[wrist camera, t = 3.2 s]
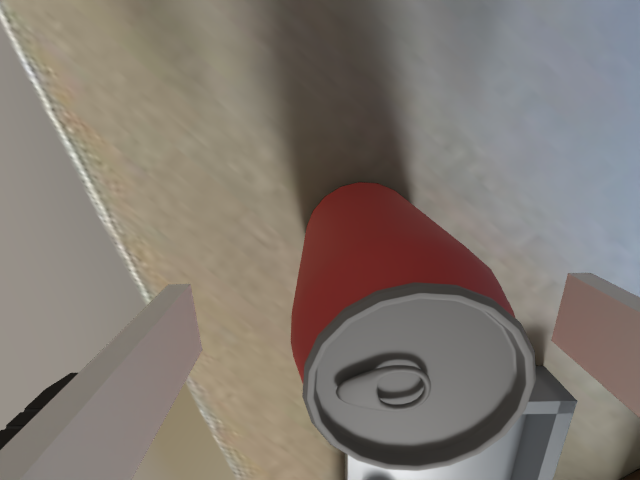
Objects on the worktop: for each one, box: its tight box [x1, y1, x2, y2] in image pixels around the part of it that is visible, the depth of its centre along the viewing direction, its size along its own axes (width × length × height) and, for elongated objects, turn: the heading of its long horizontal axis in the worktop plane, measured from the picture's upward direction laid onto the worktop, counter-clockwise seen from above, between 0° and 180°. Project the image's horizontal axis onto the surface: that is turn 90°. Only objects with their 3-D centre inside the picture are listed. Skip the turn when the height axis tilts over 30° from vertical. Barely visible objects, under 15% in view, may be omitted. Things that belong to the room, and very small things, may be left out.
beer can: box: [291, 182, 536, 471], centre depth 13 cm, size 7×7×12 cm
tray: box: [345, 366, 577, 480], centre depth 23 cm, size 16×14×3 cm
